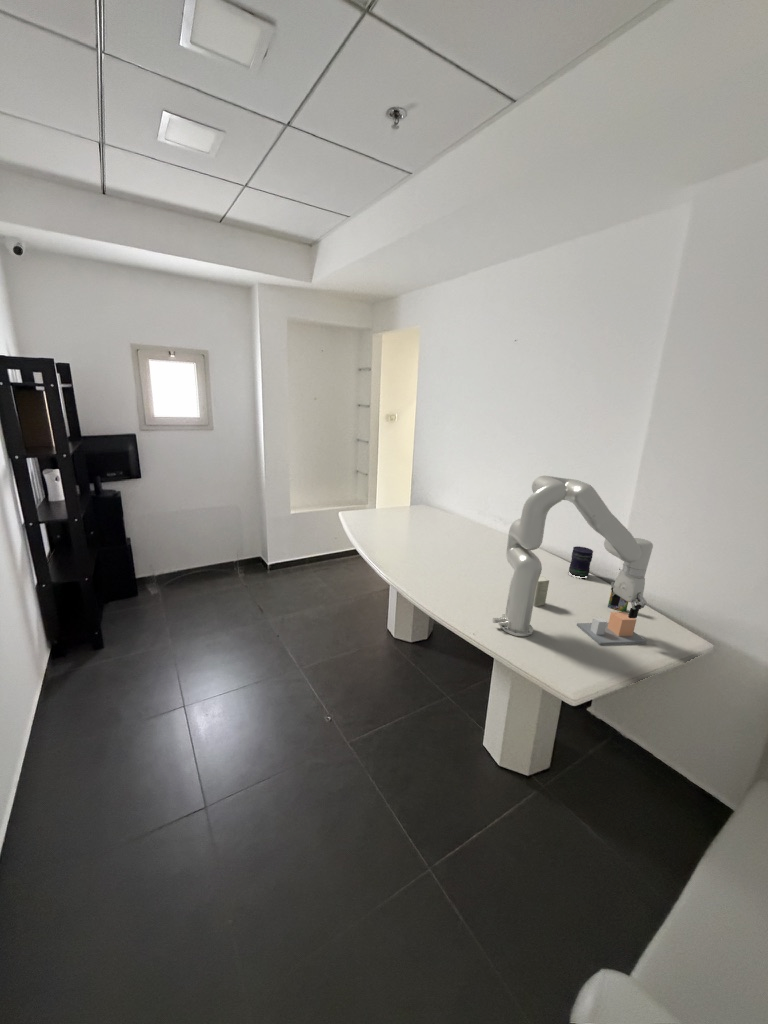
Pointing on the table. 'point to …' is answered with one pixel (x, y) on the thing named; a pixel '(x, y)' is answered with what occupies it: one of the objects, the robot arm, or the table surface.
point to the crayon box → (621, 606)
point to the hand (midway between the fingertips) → (622, 611)
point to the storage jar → (580, 561)
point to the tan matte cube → (621, 624)
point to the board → (607, 633)
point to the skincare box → (541, 591)
